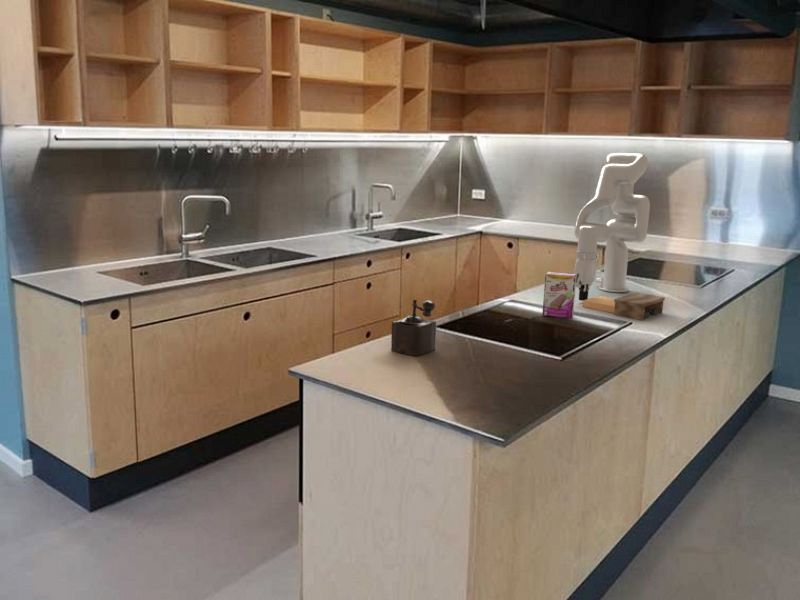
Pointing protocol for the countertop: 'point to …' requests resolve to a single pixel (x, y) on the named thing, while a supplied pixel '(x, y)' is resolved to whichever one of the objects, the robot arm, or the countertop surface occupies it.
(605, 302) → the orange cover
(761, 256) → the countertop surface
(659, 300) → the walnut shelf
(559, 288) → the candy bar box
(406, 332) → the black manual coffee grinder
